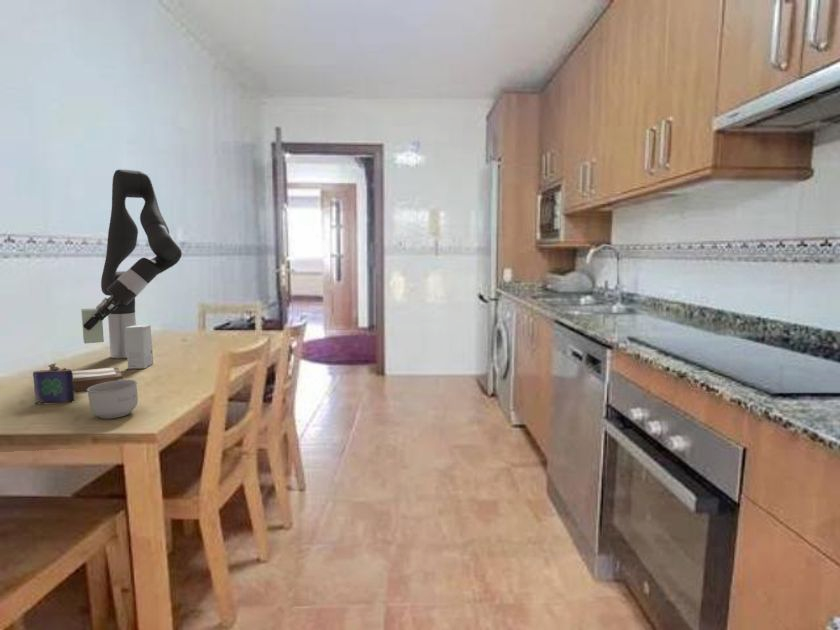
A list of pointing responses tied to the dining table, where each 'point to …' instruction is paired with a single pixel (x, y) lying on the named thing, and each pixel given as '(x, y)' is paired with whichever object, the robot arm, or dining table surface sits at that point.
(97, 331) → the green block
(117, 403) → the teacup
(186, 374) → the dining table surface
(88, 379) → the base block
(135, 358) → the skincare box
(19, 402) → the dining table surface
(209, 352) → the dining table surface
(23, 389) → the dining table surface
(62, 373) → the flask
